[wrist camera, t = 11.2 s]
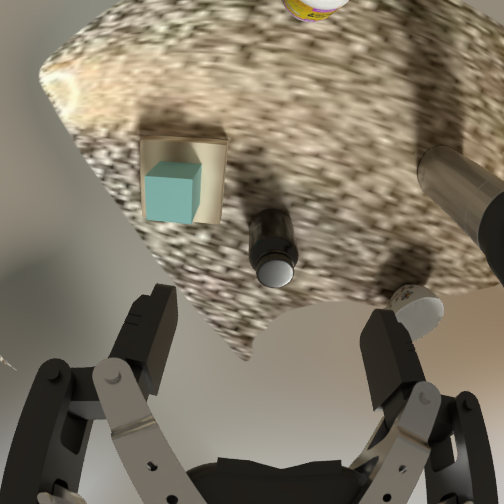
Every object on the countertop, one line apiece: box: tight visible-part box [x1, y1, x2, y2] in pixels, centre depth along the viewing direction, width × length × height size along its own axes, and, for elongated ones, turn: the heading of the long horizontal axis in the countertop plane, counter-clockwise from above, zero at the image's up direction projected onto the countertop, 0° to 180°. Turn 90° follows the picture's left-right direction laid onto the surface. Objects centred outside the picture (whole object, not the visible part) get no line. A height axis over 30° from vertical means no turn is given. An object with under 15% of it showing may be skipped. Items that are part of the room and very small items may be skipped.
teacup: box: [384, 285, 444, 341], centre depth 51 cm, size 15×12×8 cm
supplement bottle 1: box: [249, 209, 299, 288], centre depth 41 cm, size 7×7×12 cm
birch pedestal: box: [140, 135, 229, 224], centre depth 40 cm, size 12×12×3 cm
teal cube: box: [145, 161, 202, 224], centre depth 37 cm, size 6×6×6 cm
